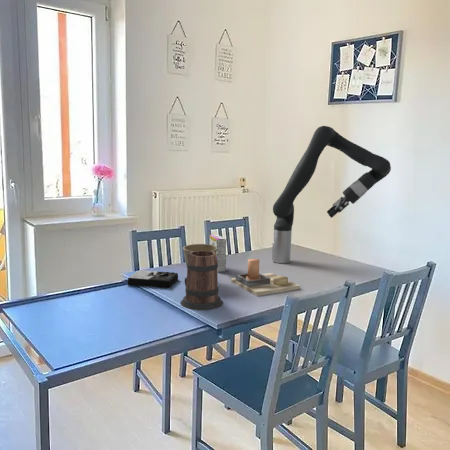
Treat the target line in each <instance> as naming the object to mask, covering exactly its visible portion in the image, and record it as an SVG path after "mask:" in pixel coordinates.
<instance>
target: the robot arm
mask: <svg viewBox="0 0 450 450" xmlns="http://www.w3.org/2000/svg"><path fill="white" fill-rule="evenodd" d="M327 146H328V147H331V148H332V149H333V148H334V149H337V150H338V151H339V152H341V153H343V154H344V155H346V157H348V158H349V159H351V160H353V161H354V162H356V163H358V164H360V165H362V166H364V167H368V168H370V169H371V170H369V171H367V172H365V173H363V174H362V175H361V176H360V177H359V178H357V180H354V181H353V182H352V183H351V184H349V186H348V187H347V188H345V189H344V190H343V191H342V194H343V196H340V198H339V199H338V200H336V201H335V202H334V203H333V204H332V206H331V207H330V208H328V210H327V211H326V213H327V214H328V216H329V217H330V218H331V219H332V218H334V217H335V216H336V215H337V214H339V213H341V212H342V211H344V209H346V208H347V207H348V206H349V205H350V203H351V204H352V205H353V204H355V203H357V201H359V199H361V198H362V197H363V196H364V195H365V194H366V193H367V192H368V191H369V190H370V189H371V188H373V187H374V186H375V185H376V184H377V183H379V182H380V181H382V180H383V179H385V178H386V177H387V176H388V175H389V174H390V172H391V171H392V167H391V162H390V161H389V160H388V159H387V158H385V157H383V156H380V155H379V154H376V153H373V152H371V151H370V150H368V149H366V148H364V147H362V146H361V145H359V144H356V143H354V142H352V141H350V140H349V139H347V138H346V137H344V136H342V135H341V134H340V133H339V132H337V131H336V130H335V129H334V128H333V127H331V126H327V125H321V126H319V127H317V128H316V130H315V131H314V132H313V135H312V137H311V139H310V142H309V143H308V146H307V148H306V150H305V151H304V153H303V154H302V156H301V158H300V159H299V162H298V163H297V165H296V166H295V168H294V170H293V172H292V173H291V175H290V178H288V182H287V184H286V185H285V187H284V189H283V190H282V192H281V194H280V195H279V197H278V198H277V199H276V200H275V202H274V204H273V206H272V213H273V214H274V215H275V217H276V220H275V222H274V225H273V242H272V247H271V248H272V252H271V253H272V254H271V260H272V262H274V263H277V264H289V263H291V257H292V256H291V252H292V251H291V250H292V235H293V234H292V230H293V224H294V219H295V218H294V215H295V204H294V201H295V200H296V198H297V196H298V195H299V194H301V192H302V191H303V190H304V189H305V187H306V186H307V185H308V184H309V182H310V181H311V179H312V177H313V175H314V173H315V171H316V169H317V165H318V161H319V158H320V156H321V154H322V152H323V151H324V150H325V148H326V147H327Z"/></svg>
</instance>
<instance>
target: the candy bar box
mask: <svg viewBox="0 0 450 450" xmlns="http://www.w3.org/2000/svg"><path fill="white" fill-rule="evenodd" d="M208 242H209V244H208V245H213V246H216V247H217V252H216V260H217V263H218V268H217V273H223V272H224V273H225V272H226V271H227V270H226V267H227V259H226V258H227V239H226V238H224V237H223V236H221V235H220V234H209V241H208Z"/></svg>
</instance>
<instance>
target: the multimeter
mask: <svg viewBox="0 0 450 450" xmlns="http://www.w3.org/2000/svg"><path fill="white" fill-rule="evenodd" d="M177 281H179V273H177V272H173V271H172V272H169V271H154V270H144V269H143V270H141V269H139V270H137V271H136V272H135V273H133V274H131V275H130V276H128V278H127V285H128V286H136V287H137V286H138V287H146V288H147V287H149V288H161V289H171V288H172V287H173V285H175V284H176V283H177Z"/></svg>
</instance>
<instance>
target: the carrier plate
mask: <svg viewBox="0 0 450 450" xmlns="http://www.w3.org/2000/svg"><path fill="white" fill-rule="evenodd" d="M247 276H248V272H247V273H240V274H239V273H238V274H235V277H231V278H230V282H231V283H233V284H234V285H236V286H238V287H240V288H241V289H244V290H245V291H247V292H249V293H251V294H253V295H254V296H256V297H259V296H265V295H271V294H276V293H283V292H290V291H294V290H295V291H296V290H301V285H299V284H297V283H296V282H293V281H290V280H289V277H287V276H284V275H277V274H275V273H273V272H268V273H260V272H259V277H260V279H257V280H251V281H249V280H247V279H246V277H247Z"/></svg>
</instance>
